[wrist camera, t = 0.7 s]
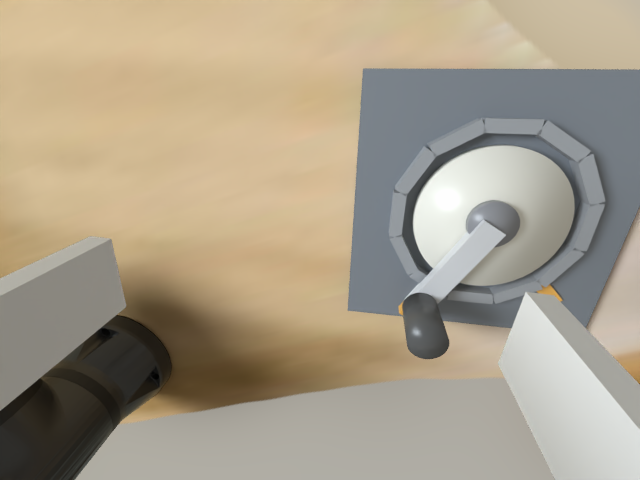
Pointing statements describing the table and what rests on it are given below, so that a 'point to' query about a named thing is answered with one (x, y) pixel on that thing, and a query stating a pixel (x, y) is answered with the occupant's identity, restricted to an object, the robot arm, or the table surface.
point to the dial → (483, 230)
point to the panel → (481, 130)
